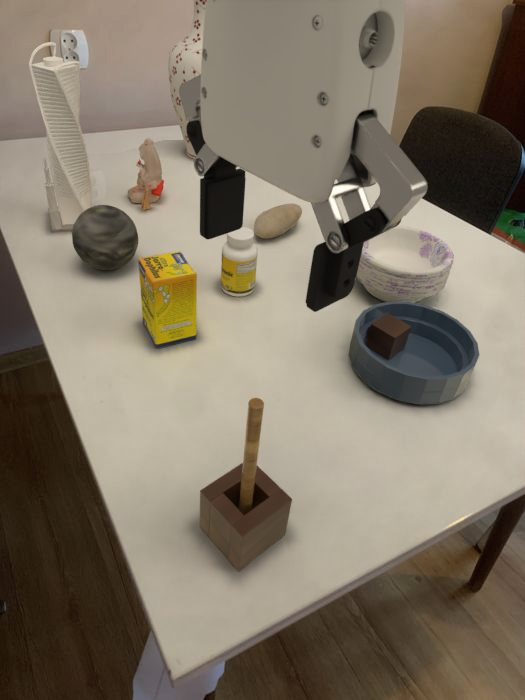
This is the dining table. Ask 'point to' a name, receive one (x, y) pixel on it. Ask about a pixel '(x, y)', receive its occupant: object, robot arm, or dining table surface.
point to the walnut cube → (388, 336)
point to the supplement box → (168, 298)
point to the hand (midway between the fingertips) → (270, 264)
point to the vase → (187, 66)
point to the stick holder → (243, 516)
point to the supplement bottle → (239, 263)
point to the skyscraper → (62, 139)
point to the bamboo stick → (250, 453)
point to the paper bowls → (404, 265)
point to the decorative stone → (105, 237)
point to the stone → (277, 220)
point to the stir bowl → (416, 355)
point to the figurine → (147, 177)
